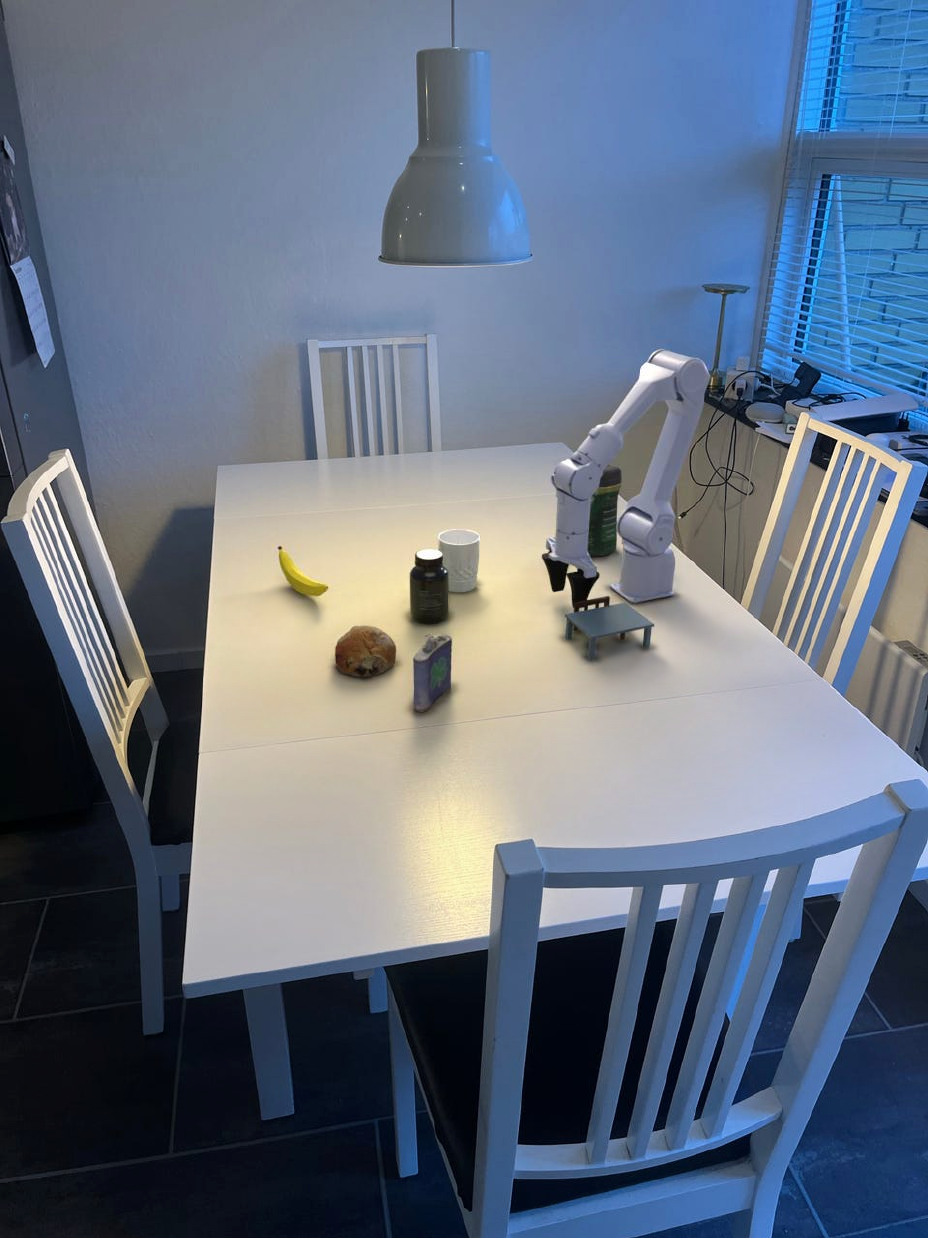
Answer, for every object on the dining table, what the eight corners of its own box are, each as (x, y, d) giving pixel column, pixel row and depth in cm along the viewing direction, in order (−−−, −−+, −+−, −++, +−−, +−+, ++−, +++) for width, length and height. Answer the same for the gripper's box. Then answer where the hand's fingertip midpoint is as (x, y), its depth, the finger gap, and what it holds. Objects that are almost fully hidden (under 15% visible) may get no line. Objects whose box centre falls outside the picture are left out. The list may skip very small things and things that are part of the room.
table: (623, 625, 168) (625, 602, 166) (651, 647, 161) (654, 623, 159) (563, 637, 164) (564, 614, 162) (589, 661, 156) (591, 637, 154)
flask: (424, 714, 141) (423, 650, 137) (407, 709, 143) (406, 646, 138) (455, 686, 149) (455, 625, 144) (438, 682, 150) (438, 621, 145)
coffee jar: (622, 551, 198) (630, 465, 190) (594, 560, 194) (601, 472, 185) (590, 537, 205) (596, 453, 196) (562, 545, 201) (567, 460, 192)
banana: (322, 613, 171) (319, 581, 168) (274, 578, 185) (271, 547, 182) (336, 609, 173) (334, 577, 170) (288, 574, 186) (285, 544, 184)
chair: (603, 622, 169) (605, 593, 166) (626, 640, 163) (628, 611, 160) (569, 629, 166) (571, 600, 164) (591, 648, 160) (593, 618, 158)
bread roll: (402, 678, 158) (409, 630, 158) (378, 682, 148) (386, 631, 148) (347, 668, 161) (354, 621, 160) (320, 671, 151) (328, 621, 151)
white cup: (475, 596, 178) (475, 546, 174) (433, 592, 180) (433, 542, 175) (482, 579, 185) (483, 530, 181) (443, 575, 186) (443, 527, 182)
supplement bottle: (413, 606, 174) (412, 545, 168) (450, 608, 173) (450, 547, 168) (407, 623, 168) (406, 560, 162) (446, 625, 167) (446, 562, 162)
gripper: (532, 518, 171) (529, 587, 177) (572, 546, 159) (568, 619, 165) (566, 512, 173) (563, 580, 180) (609, 540, 162) (603, 612, 168)
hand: (568, 599), depth 173 cm, fingers open, 7 cm apart
